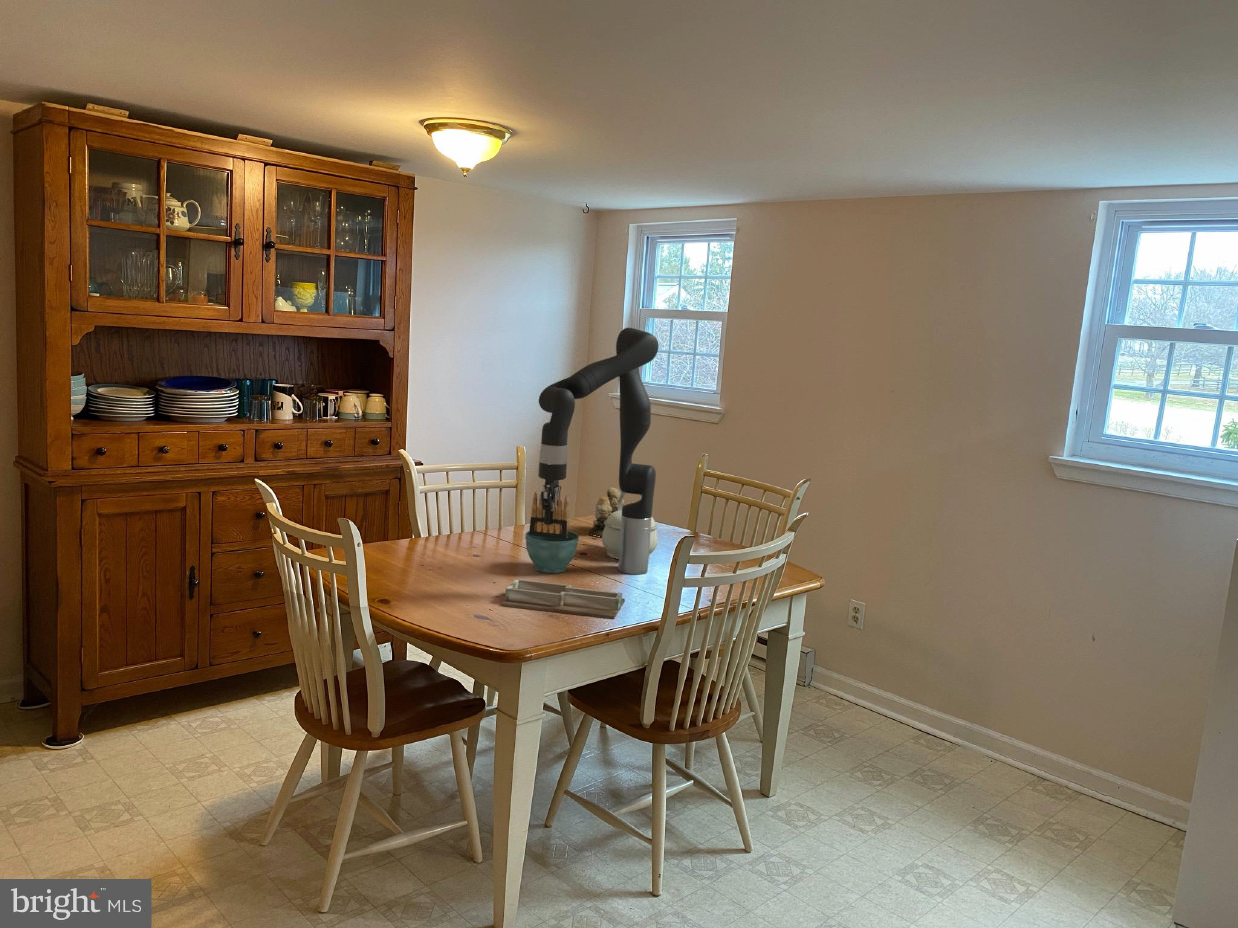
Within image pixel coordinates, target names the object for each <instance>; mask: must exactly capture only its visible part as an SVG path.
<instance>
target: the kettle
mask: <svg viewBox="0 0 1238 928" xmlns="http://www.w3.org/2000/svg"><path fill="white" fill-rule="evenodd" d="M620 493H621V494H620V497H619V500H618V511H616V512H614V513H612V514H611V515H610V516H609V517H608V519H607V520H605V521H604V524H605V525H606V526H605V528H604V531H603V534H602V538H601V543H602V545H603V548H604V549H605V550H606V551H607V552H606V553H607V556H608V555H609V556H608V557H609V558H611V557H612V559H614V558H616V559H615V560H617V559H619V547H620V532H621V516H622V500H624V497H625V494H626V493H624V492H622V491H620ZM641 498H642V495H639V500H641ZM631 503H632V502H630V503H629V504H631ZM658 527H659V526H658V524H657V523H656V522H655V519H654V518H653V516H652V517H651V531H650V546H649V557H650V558H651V554H652V553H653V552H654V551H655V550H656V549H657V546H658V543H659V536H658V532H657V529H658Z"/></svg>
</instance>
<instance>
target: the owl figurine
mask: <svg viewBox="0 0 1238 928" xmlns="http://www.w3.org/2000/svg"><path fill="white" fill-rule="evenodd" d="M620 494H621V490H619V489H618V488H616V487H609V488H607V491H606V495H607V497H606V496H599V497H598V501H597V503H596V506H595V511H594V512H595V514H594V516H595V519H596V520H593V525H592V528H590V529H589V533H590V534H592V535H596V536H600V537H602V534H603V531H604V528H605V526H606V525H605V524H604V521H605V520H607V519H608V517H609V516H610V515H611V514H612V513H614V512H616V511H618V500H619V497H620ZM624 505H625V500H624V499H623V500H622V508H623V506H624ZM589 533H588V534H589ZM590 534H589V535H590Z"/></svg>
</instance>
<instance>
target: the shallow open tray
mask: <svg viewBox="0 0 1238 928" xmlns="http://www.w3.org/2000/svg"><path fill="white" fill-rule="evenodd" d="M504 597H505V598H504V600H503V601H502V602H501V606H502V607H509V608H518V609H526V610H534V611H543V612H552V613H559V614H568V615H577V616H584V615H586V617H593V616H594V617H593V618H603V619H609V620H610V619H611V620H615V619H616V617H617V615H618V614H619V611H620V610H621V609H622V607H623V605H624V603H625V601H626V599H625V598H623V593H622V592H616V591H606V590H600V589H598V590H597V589H590V588H581V587H572V584H564V583H555V582H554V583H553V582H545V581H538V580H537V581H536V580H527V579H520V578H515V580H514V581H513V582H511V584H509V585H508V586H507V587H506V588H505V596H504Z"/></svg>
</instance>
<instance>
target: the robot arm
mask: <svg viewBox="0 0 1238 928" xmlns="http://www.w3.org/2000/svg"><path fill="white" fill-rule="evenodd" d="M659 345H660V344H659V340H658V339H657V337H656V336H655V335H654V334H652V333H651V332H648V331H645V330H642V329H637V328H633V327H625V328H623V329H622V330H621V331H620V332H619V333H618V336H617V338H616V343H615V352H616V353H615V354H616V355H613V356H611V357H608V358H604V359H600V360H598V361H594V362H591V363H588V365H585V366H584V367H582V368H581V369H579V370H578V371H576V372H575V373H573V374H572V375H569V377H566V378H563V379H561V380H559V381H556V382H554V383H551V384H550V385H548V386H546V387H545V388H544V389H543V390H542V391H541V393H539V397H538V405H539V406H540V408H541V410H542V411H544V412H546V413H550V414H551V416H550V419H549V422H545V423H544V424H543V425H542V428H541V441H540V443H541V444H540V449H539V462H538V478H540V479H542V480H545V481H544V485H542V490H541V492H540V494H541V500H542V509H543V510H544V511H545V515H544V514H543V516H544V524H546V525H551V524H552V522H553V510H554V503H555V502H556V509H557V505H558V498H559V496H560V494H561V490H562V486H561V485H560V483H559V481H562V480H565V479H567V469H568V466H567V464H568V436H569V435H568V433H569V429H570V428H569V427H570V425H571V423H572V419H573V417H574V411H575V408H576V401H575V400H578V399H579V400H580V399H584V398H586V397H587V396H589V395H590V394H592V393H594V392H595V391H597V390H598V389H600V388H601V387H602V386H604V385H606V384H607V383H609V382H611V381H612V380H615V379H616V378H618V381H619V385H618V386H619V387H618V388H619V431H620V432H619V435H620V439H619V440H620V448H619V449H620V450H619V451H620V452H619V469H618V486H619V489H620V490H619V491H620V492H624V493H625V494H631V495H639V496H640V495H642V498H641V500H640V499H639V500H638V501H635V502H630V503H631V504H630V503H627V504H624V506H623V508H622V516H621V532H620V547H619V560H618V562H617V563H618V565H617V570H618V571H619V572H621V573H624V574H630V575H641V574H647V573H648V571H649V559H650V558H649V546H650V531H651V517H652V518H653V516H652V514H653V505H654V503H653V502H654V495H655V487H656V480H657V479H656V477H657V475H656V468H655V467H654V466H653V465H648V464H641V463H633V462H632V458H633V455H634V452H635V450H636V448H638V445H639V444H640V442H642V440H643V438H644V437H645V436H646V434H647V433H648V431H649V430H650V427H651V424H652V423H651V422H652V417H651V416H652V411H651V409H652V408H651V407H652V406H651V400H650V396H649V394H648V392H647V390H646V387H645V385H644V383H643V381H642V378H641V375H640V367H643V366H644V365H646V364H649V363H650V362H652V361H653V360H654V359H655V358H656V356H657V354H658V352H659ZM552 499H553V500H552ZM547 504H549V505H547Z"/></svg>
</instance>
